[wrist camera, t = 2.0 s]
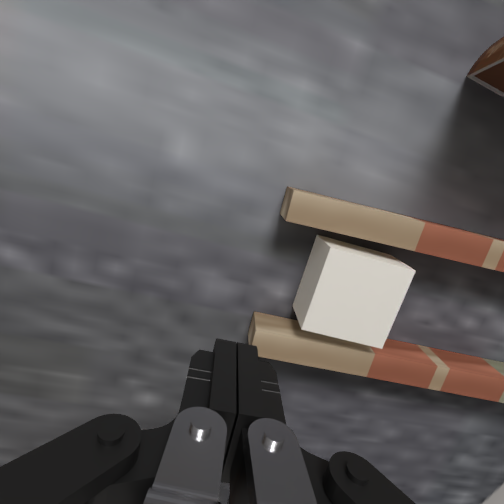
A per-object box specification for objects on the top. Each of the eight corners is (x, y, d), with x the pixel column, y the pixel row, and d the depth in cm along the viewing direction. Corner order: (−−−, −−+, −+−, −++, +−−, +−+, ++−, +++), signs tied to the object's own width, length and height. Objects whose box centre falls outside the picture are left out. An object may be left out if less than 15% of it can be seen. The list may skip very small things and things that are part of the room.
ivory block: (316, 233, 25) (330, 247, 21) (389, 253, 26) (415, 270, 22) (292, 304, 27) (301, 329, 23) (361, 321, 27) (382, 348, 23)
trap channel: (287, 186, 24) (294, 190, 21) (627, 270, 27) (675, 283, 24) (248, 333, 27) (249, 354, 24) (557, 394, 30) (592, 419, 27)
